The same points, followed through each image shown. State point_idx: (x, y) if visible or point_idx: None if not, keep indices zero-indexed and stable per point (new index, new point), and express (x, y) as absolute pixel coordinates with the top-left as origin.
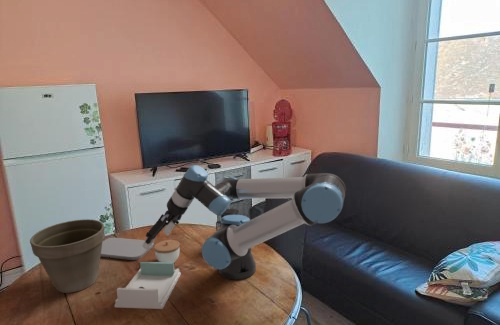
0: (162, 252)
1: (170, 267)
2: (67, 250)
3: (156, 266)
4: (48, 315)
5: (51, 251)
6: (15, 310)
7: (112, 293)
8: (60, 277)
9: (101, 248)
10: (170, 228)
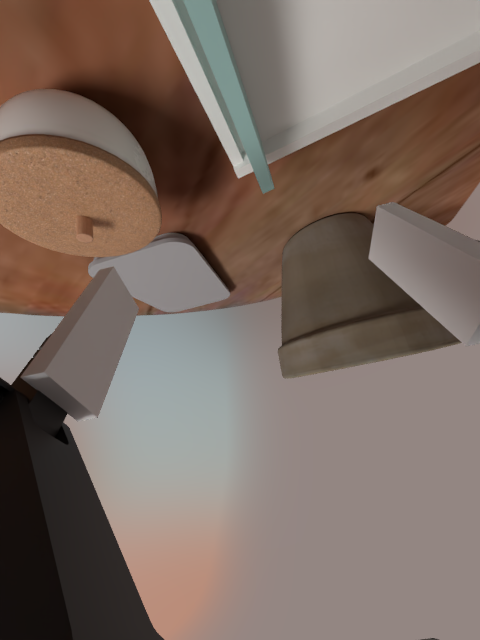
0: (144, 180)
1: None
2: None
3: (244, 95)
4: (462, 184)
5: None
6: None
7: (381, 133)
8: None
9: (319, 301)
10: (93, 325)
